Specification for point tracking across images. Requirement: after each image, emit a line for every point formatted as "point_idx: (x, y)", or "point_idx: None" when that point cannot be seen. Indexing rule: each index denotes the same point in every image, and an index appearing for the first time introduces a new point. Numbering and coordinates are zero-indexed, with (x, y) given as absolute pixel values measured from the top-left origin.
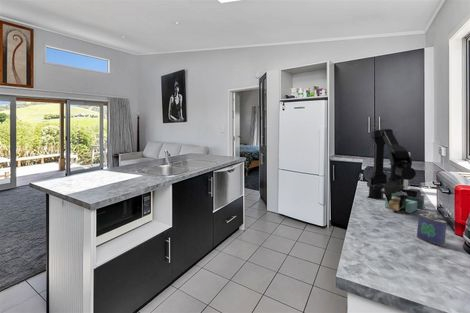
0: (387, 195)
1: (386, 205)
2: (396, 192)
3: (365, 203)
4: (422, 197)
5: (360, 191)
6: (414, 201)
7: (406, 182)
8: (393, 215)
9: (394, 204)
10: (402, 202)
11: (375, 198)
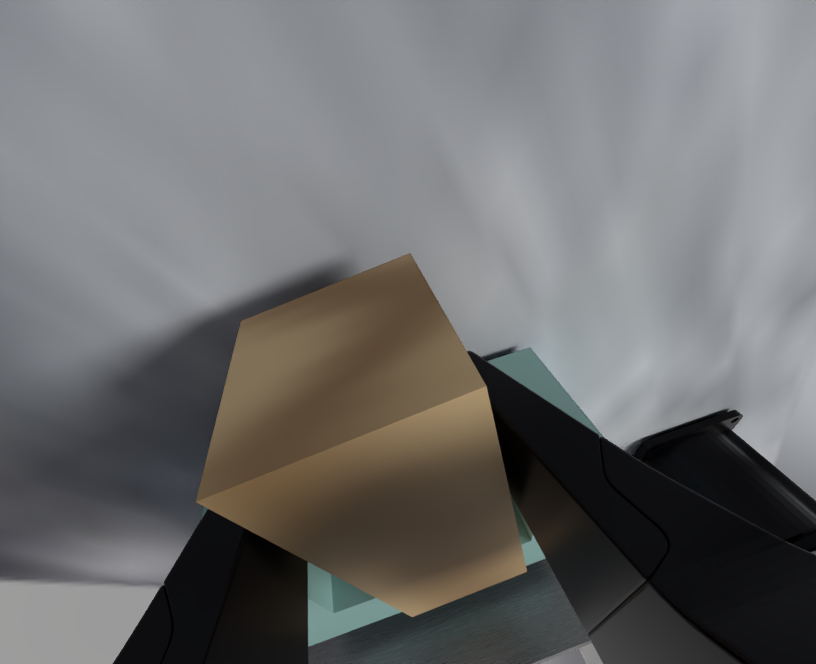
0: (708, 591)
1: (526, 371)
2: (572, 625)
3: (764, 246)
4: None
5: (775, 444)
6: (319, 634)
7: (586, 651)
8: (149, 95)
9: (312, 391)
10: (171, 584)
11: (673, 435)
